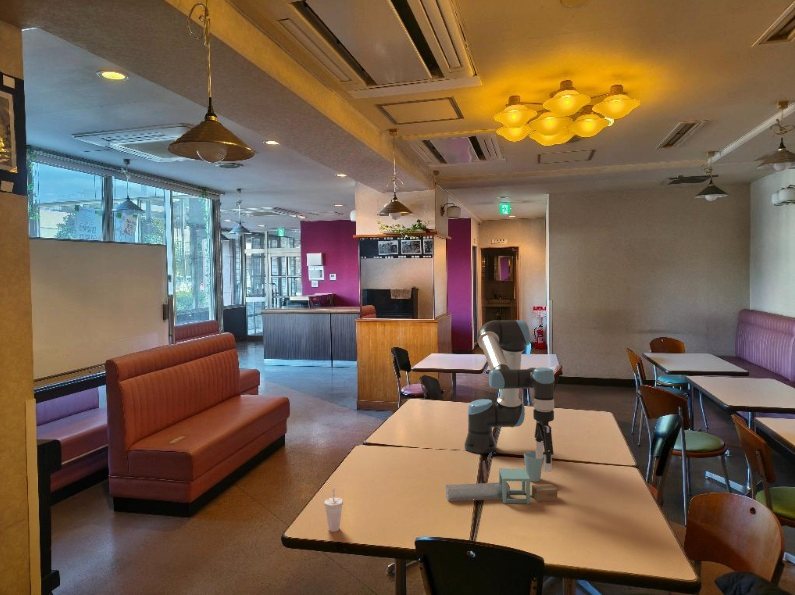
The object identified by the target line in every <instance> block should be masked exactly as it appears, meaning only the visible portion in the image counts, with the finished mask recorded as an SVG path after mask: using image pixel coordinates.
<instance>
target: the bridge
mask: <svg viewBox="0 0 795 595" xmlns="http://www.w3.org/2000/svg"><path fill="white" fill-rule="evenodd" d="M501 482H502V499H501V500H502V501H501V502H502V504H527V505H529V504H531V481H530V478H529V476H528V474H527V472H526V469H525V468H511V467H510V468H504V467H503V468H498V483H501ZM506 482H521V489H510V495H511V494H514V495H516V494H517V495H518V494H522V495H523V494H525V498H510V499H506Z"/></svg>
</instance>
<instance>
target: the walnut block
mask: <svg viewBox="0 0 795 595" xmlns="http://www.w3.org/2000/svg"><path fill="white" fill-rule="evenodd" d="M531 497H532V498H533V499H534V500H535V502H537V503H540V502H554V501H558V488H557V487H556V486H555V485H554V484H552V483H543V484H532V485H531Z"/></svg>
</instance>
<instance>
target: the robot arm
mask: <svg viewBox="0 0 795 595" xmlns="http://www.w3.org/2000/svg"><path fill="white" fill-rule="evenodd" d="M530 333H531V332H530V329H529V325H528V323H527V322H526V321H525V320H520V319H519V320H517V319H507V320H505V319H504V320H503V319H501V320H490V321H487V322H486V323H485V324H483V325H482V326H481V327H480V329H479V330H478V332H477V335H476V340H477V344H478V346H479V348H480V349H481V350H483V354H484V356H485V359H486V361H487V362H486V363H487V364H488V367H489V372H488V384H489V388H491V389H496V390H500V394H499V396H498V397H497V399H496V402H493V400H491V399H488V398H487V399H486V398H484V399H483V398H481V399H476V400H473V401H471V402H469V403H468V408H467V423H468V425H467V435H466V438H465V440H464V441H465V442H464V450H466V451H467V450H468V451H467V452H470V451H471V452H470V453H473V452H476V453H475V454H491V453H494V452H495V451H496V450H497V445H496V439H495V437H494V435H493V428H515V427H516V428H517V427H521V425H523V423H524V421H525V417H526V416H525V415H526V412H525V411H526V410H525V409H526V408H525V404H524V403H523V402H522V399H520V398H519V395H520V394H519V393H520V389H533V400H532V401H531V403H532V404H533V409H532V411H533V419H534V420H535V421H536V423H535V430H534V436H533V437H534V438H535V452H536V459H543V472H545V473H548V472H550V473H551V472H552V471H553V469H552V468H553V466H552V465H553V459H552V458H553V457H552V456H553V455H554V446H553V444H554V443H553V436H552V435H553V434H552V426H551V425H550V424H549V423H550V422H553V421H554V419H555V411H554V409H555V372H554V370H553V368H549V367H528V368H524V369H523V368H521V367H522V366H521V365H522V364H521V363H522V353H524V351H526V346H529V345H531V344H530V343H531V334H530Z"/></svg>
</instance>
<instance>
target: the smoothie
mask: <svg viewBox="0 0 795 595" xmlns="http://www.w3.org/2000/svg"><path fill="white" fill-rule="evenodd" d="M343 500H344V499H343V498H341V497H336V496H335V487H332V496H331V497H328V498H326V499H325V500H324V501H323V503H324V504H323V506H324V508H325V513H326V521H327V529H328V531H329V532H334V533H335V532H338V531H339V530H340V529H341V527H340V526H341V519H342V508H343V505H344V501H343Z"/></svg>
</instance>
